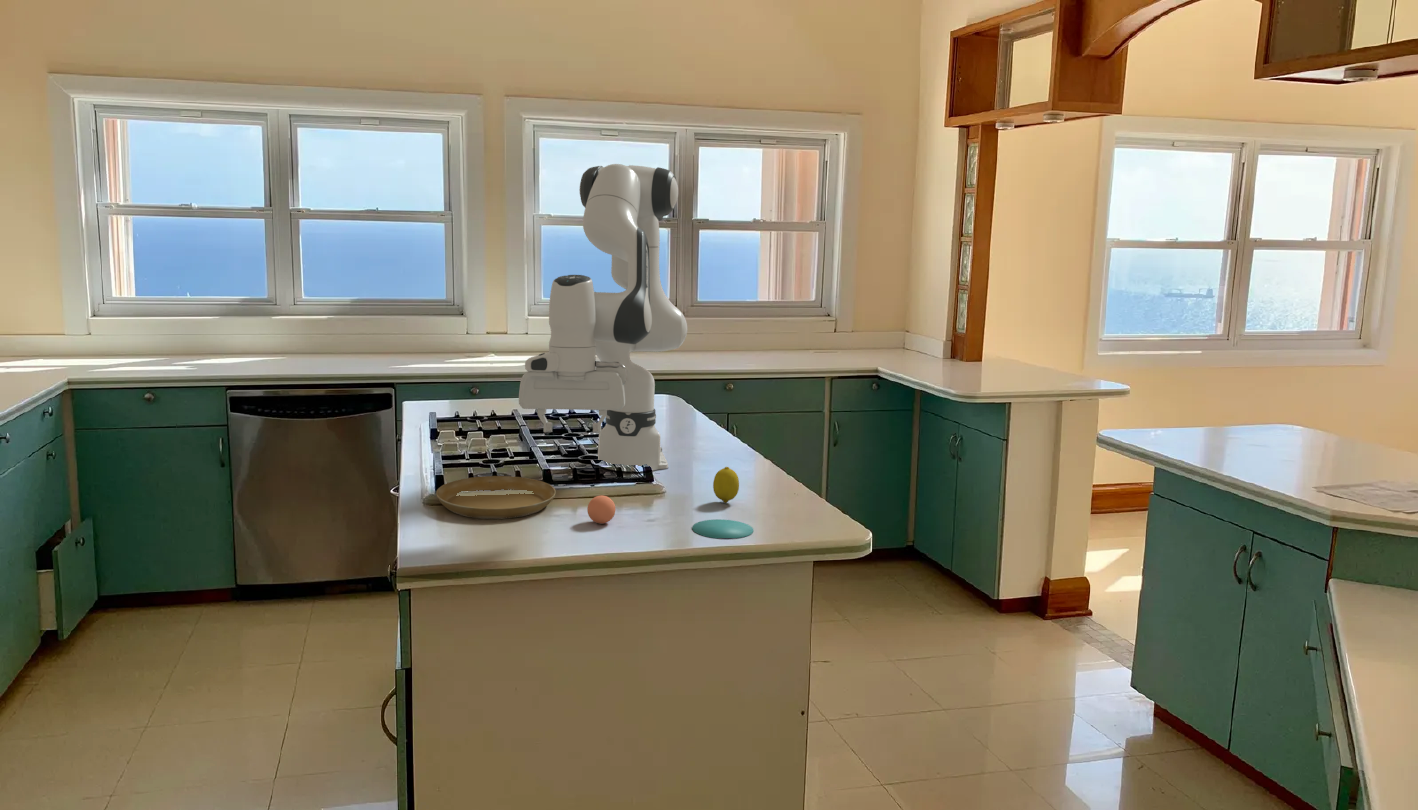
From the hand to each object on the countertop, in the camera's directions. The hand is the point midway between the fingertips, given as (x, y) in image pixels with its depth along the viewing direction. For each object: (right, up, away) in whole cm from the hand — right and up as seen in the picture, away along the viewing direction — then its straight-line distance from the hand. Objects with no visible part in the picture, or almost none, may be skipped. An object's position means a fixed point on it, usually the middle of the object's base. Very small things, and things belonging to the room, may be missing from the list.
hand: (572, 432), depth 198 cm
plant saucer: (-17, -16, +14) cm, 27 cm away
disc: (+29, -19, +3) cm, 35 cm away
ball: (+5, -15, +4) cm, 16 cm away
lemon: (+30, -16, +22) cm, 40 cm away
